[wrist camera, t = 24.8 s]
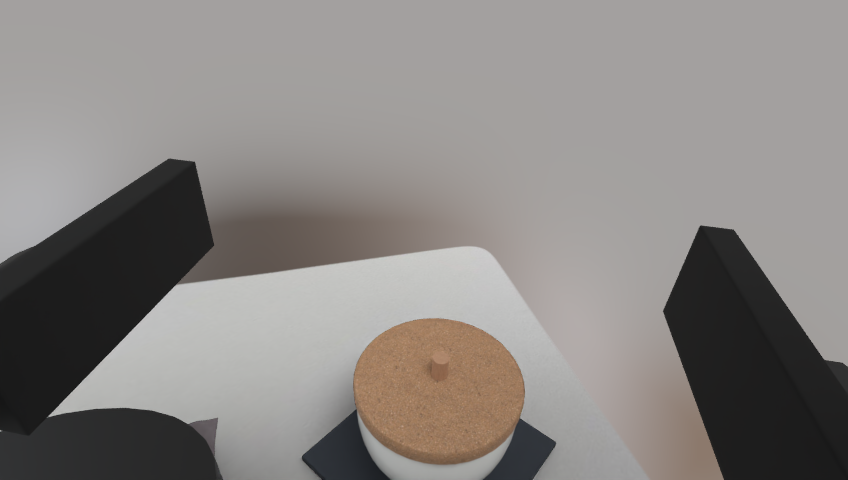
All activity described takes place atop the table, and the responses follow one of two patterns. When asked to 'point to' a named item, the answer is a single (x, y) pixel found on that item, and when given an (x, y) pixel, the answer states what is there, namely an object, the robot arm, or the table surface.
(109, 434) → the tape dispenser
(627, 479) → the table surface
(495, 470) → the mat
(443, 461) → the trinket box
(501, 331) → the table surface
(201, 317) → the table surface
